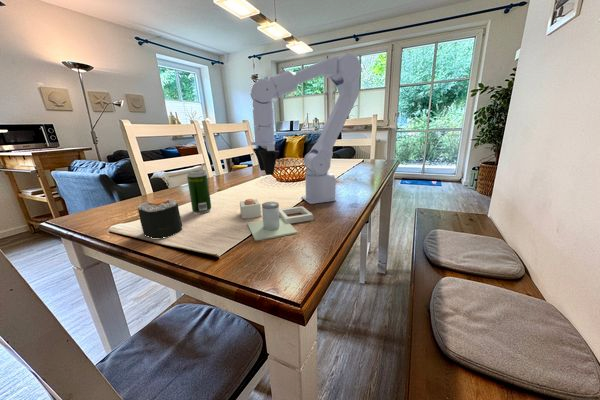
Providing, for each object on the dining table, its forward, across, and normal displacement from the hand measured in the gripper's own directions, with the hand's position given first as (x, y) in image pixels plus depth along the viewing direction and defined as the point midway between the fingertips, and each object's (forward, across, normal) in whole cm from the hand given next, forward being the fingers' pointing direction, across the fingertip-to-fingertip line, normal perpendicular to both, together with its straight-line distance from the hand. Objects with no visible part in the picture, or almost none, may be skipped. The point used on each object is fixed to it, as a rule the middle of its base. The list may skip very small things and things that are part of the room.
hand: (266, 172), depth 76 cm
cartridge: (+10, +19, -4) cm, 22 cm away
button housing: (+10, +7, -7) cm, 14 cm away
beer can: (+11, -2, -20) cm, 23 cm away
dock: (+10, +14, +4) cm, 18 cm away
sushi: (+11, +10, -29) cm, 32 cm away
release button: (+9, +7, -7) cm, 13 cm away
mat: (+10, +19, -4) cm, 22 cm away
